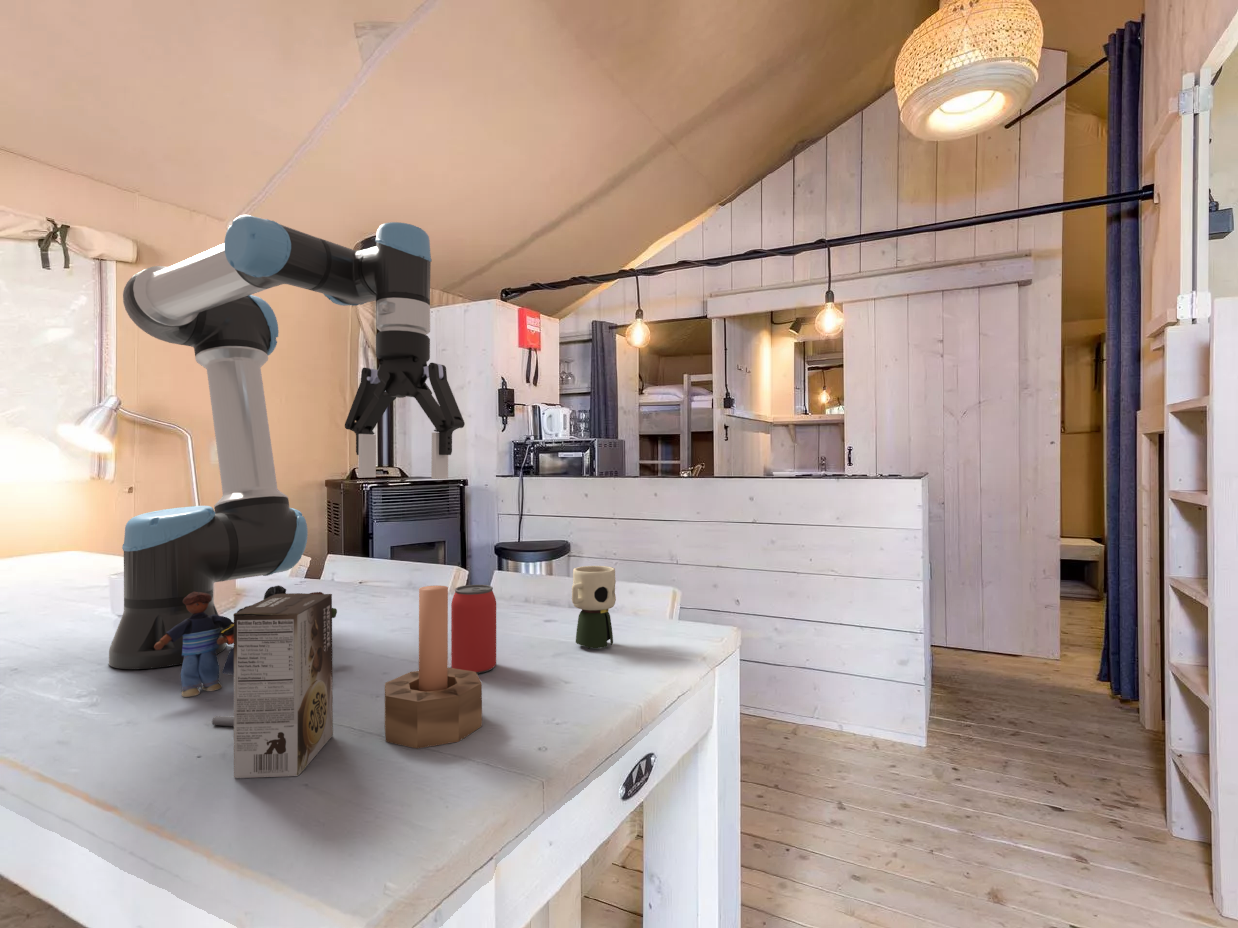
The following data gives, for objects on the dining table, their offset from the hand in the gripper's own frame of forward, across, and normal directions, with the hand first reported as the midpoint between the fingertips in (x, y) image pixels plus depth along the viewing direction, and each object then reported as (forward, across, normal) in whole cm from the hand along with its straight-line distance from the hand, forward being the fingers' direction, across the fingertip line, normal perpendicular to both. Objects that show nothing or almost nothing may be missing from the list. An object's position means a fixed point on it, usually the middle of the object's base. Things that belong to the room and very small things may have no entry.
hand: (402, 478), depth 90 cm
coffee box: (+29, +8, -25) cm, 39 cm away
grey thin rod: (+28, -2, -22) cm, 36 cm away
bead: (+28, +17, -14) cm, 36 cm away
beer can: (+29, +9, +5) cm, 30 cm away
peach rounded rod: (+28, +17, -14) cm, 36 cm away
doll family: (+29, -18, -10) cm, 35 cm away
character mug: (+28, +21, +22) cm, 42 cm away
